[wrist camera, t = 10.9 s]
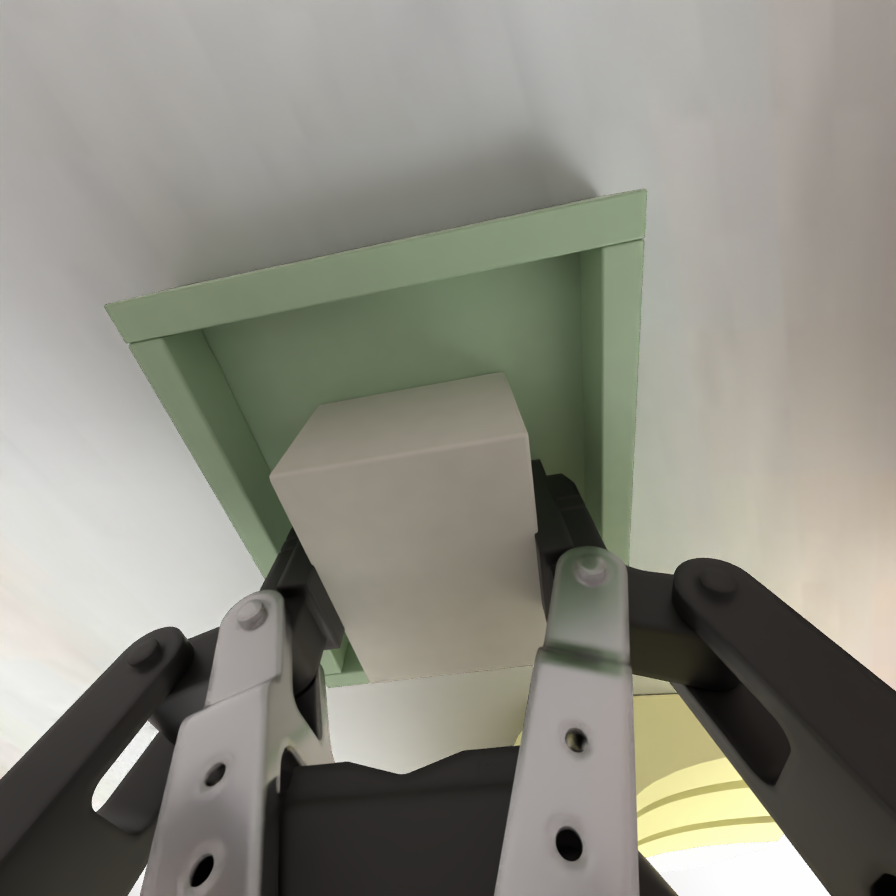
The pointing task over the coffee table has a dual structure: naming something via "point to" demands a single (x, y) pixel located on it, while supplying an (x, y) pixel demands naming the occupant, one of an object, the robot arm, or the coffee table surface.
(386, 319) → the shallow green tray
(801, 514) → the coffee table surface
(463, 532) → the beige rectangular block
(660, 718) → the slatted curved stool
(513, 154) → the coffee table surface
